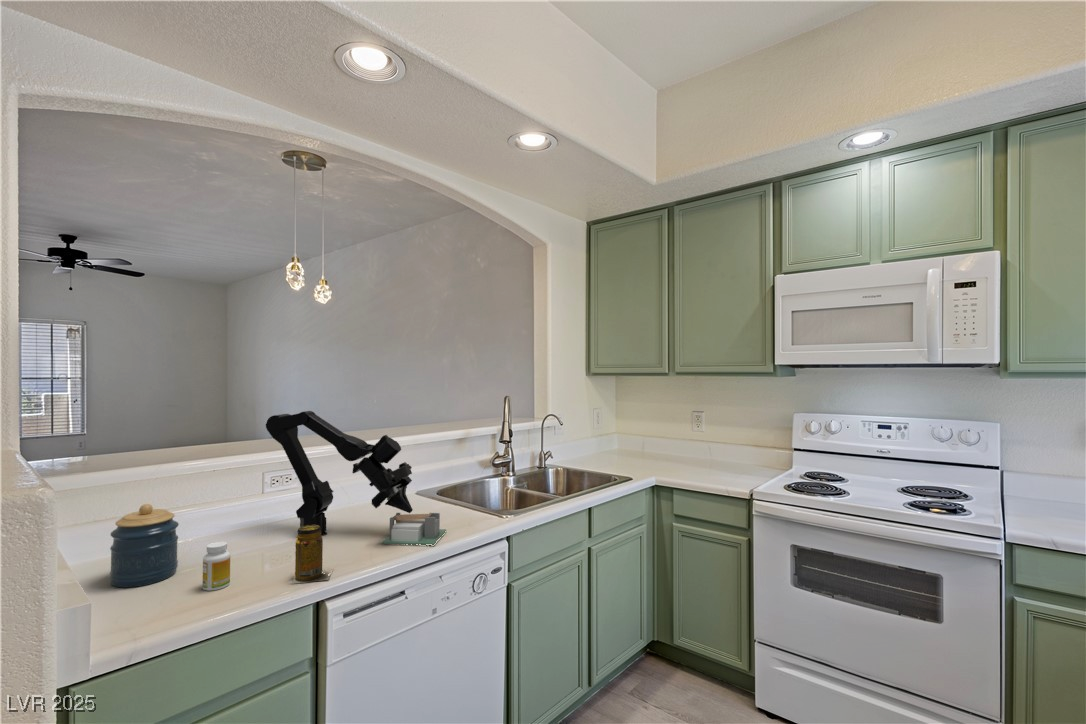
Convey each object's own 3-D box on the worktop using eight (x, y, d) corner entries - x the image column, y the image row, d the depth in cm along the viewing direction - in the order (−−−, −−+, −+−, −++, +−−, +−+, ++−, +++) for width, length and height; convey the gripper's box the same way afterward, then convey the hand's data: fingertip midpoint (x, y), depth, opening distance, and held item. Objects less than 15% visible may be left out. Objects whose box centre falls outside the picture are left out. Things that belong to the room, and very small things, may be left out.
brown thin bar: (391, 517, 150) (428, 516, 149) (395, 514, 153) (432, 513, 153) (391, 520, 150) (429, 519, 149) (395, 517, 153) (432, 516, 153)
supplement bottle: (234, 581, 120) (235, 540, 120) (221, 591, 114) (221, 548, 115) (211, 581, 120) (212, 540, 120) (197, 591, 114) (197, 548, 114)
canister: (107, 576, 122) (108, 503, 122) (172, 562, 131) (174, 494, 131) (112, 594, 113) (113, 515, 113) (182, 577, 122) (183, 504, 122)
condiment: (297, 572, 125) (297, 524, 126) (333, 569, 127) (334, 521, 128) (290, 584, 118) (290, 533, 118) (328, 581, 120) (329, 530, 120)
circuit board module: (381, 544, 145) (381, 520, 145) (398, 530, 158) (398, 508, 158) (433, 546, 144) (434, 521, 144) (446, 531, 157) (446, 509, 157)
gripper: (383, 461, 143) (420, 501, 142) (406, 450, 161) (439, 486, 160) (355, 487, 143) (392, 528, 142) (382, 474, 162) (414, 510, 161)
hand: (411, 511), depth 151 cm, fingers closed
